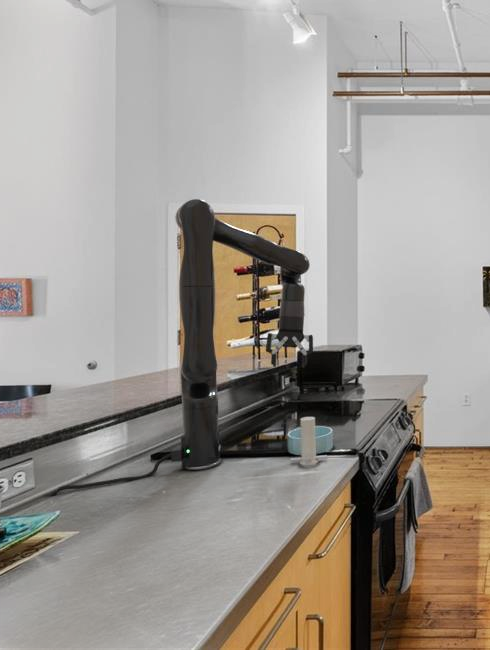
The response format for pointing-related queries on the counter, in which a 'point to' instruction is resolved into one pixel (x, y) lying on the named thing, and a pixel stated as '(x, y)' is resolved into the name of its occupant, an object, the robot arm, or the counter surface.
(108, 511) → the counter surface
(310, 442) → the blade
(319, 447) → the processor bowl
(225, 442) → the counter surface
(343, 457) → the counter surface
